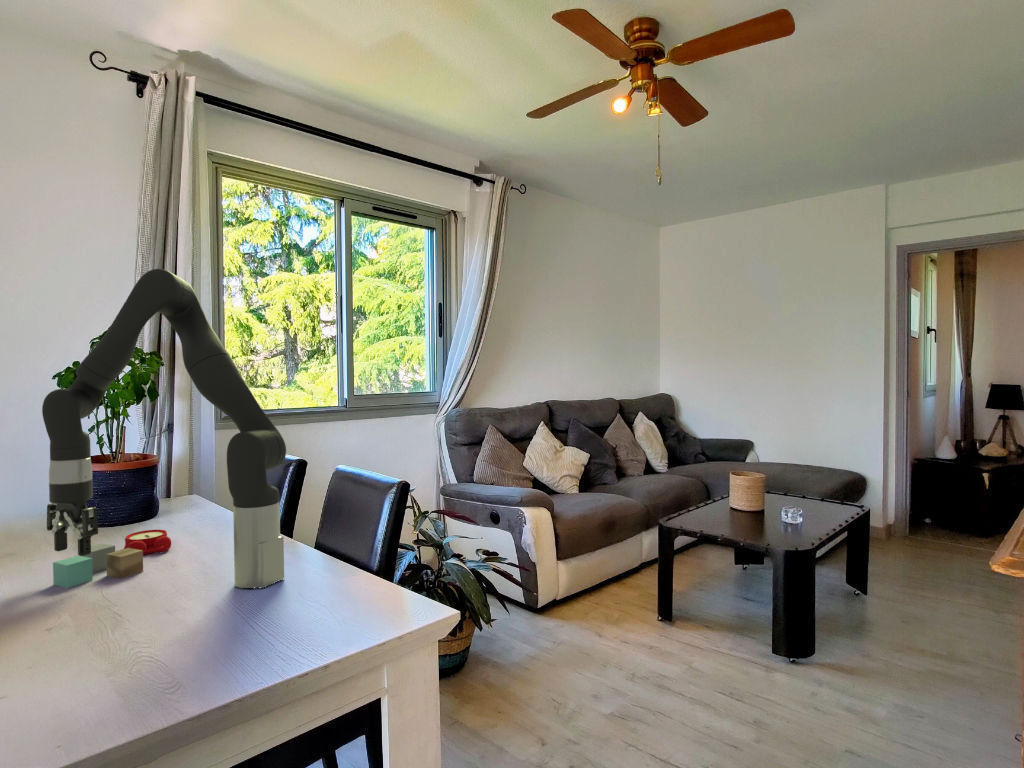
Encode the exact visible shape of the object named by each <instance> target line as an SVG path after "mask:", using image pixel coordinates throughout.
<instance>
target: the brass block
mask: <svg viewBox="0 0 1024 768" xmlns="http://www.w3.org/2000/svg"><path fill="white" fill-rule="evenodd" d="M106 562H107V569H106V576H107V577H111V578H115V579H120V580H121V579H125V578H127V576H128V577H131V576H134V575H137V574H139V572H140V573H142V571H143V572H144V555H143V550H138V549H132V548H127V549H124V548H123V549H120V550H115V552H113V553H109V554H106Z"/></svg>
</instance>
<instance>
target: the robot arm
mask: <svg viewBox="0 0 1024 768" xmlns="http://www.w3.org/2000/svg"><path fill="white" fill-rule="evenodd" d="M157 313H159V314H161V315H163V316H164V318H166V320H167V321H168V322H169V324H170V325H171V326H172V328H173V330H174V331H175V333H176V334H177V336H178V338H179V340H180V345H181V352H182V361H183V365H184V368H185V370H186V372H187V374H188V376H189V377H190V379H191V381H192V382H193V384H194V386H195V388H196V389H197V391H198V392H199V393H200V394H201V396H203V398H205V400H207V401H208V402H209V403H210V404H211V405H213V406H214V407H216V408H217V409H219V411H221V412H222V413H224V414H225V415H226V416H227V417H228V418H229V419H231V421H232V422H233V423H234V424H235V426H236V427H237V429H238V431H239V432H237V433H236V434H234V435H233V436H232V437H231V438H230V439H229V441H228V444H227V448H226V468H227V469H226V471H227V482H228V490H229V494H230V496H231V498H232V504H233V506H232V507H233V514H232V515H233V554H234V555H233V561H234V565H233V566H234V567H233V569H234V586H235V587H236V588H238V587H239V589H243V588H253V589H257V588H256V587H261V588H263V587H265V586H268V585H270V584H272V583H274V582H276V581H278V580H281V579H283V578H284V579H285V550H284V549H285V547H284V546H285V545H284V542H285V540H284V536H281V521H280V520H281V519H280V518H281V516H280V515H281V512H280V490H279V488H278V487H276V486H273V485H270V484H269V483H268V481H267V480H268V479H267V470H268V471H269V470H271V469H274V468H277V467H279V466H281V465H282V464H283V462H284V461H285V458H286V455H287V446H286V442H285V439H284V438H283V435H282V434H281V433H280V432H279V431H280V430H278V429H277V427H276V426H275V424H274V423H273V422H272V420H271V419H270V418H269V417H268V415H267V414H266V412H265V411H264V410H263V408H262V407H261V405H259V403H258V401H257V400H256V398H255V396H254V395H253V393H252V391H251V389H250V388H249V386H248V385H247V382H246V381H245V380H244V378H243V377H242V374H241V373H240V371H239V369H238V367H237V365H236V364H235V362H234V361H233V359H232V357H231V355H230V354H229V352H228V351H227V349H226V348H225V346H224V344H223V342H222V341H221V339H220V338H219V336H218V335H217V332H215V331H214V329H213V327H212V326H211V325H210V322H209V320H208V319H207V316H206V314H205V312H204V310H203V308H202V305H201V303H200V301H199V299H198V296H197V294H196V292H195V290H194V288H193V287H192V285H191V284H190V283H188V281H186V280H185V279H183V278H181V277H179V275H176V274H174V273H173V272H171V271H169V270H167V269H163V268H153V269H150V270H148V271H146V272H145V273H143V274H142V276H141V277H140V278H139V279H138V280H137V282H136V283H135V285H134V286H133V288H132V290H131V291H130V293H129V295H128V296H127V298H126V300H125V301H124V303H123V304H122V307H121V308H120V310H119V312H118V313H117V315H116V316H115V318H114V320H113V322H112V323H111V325H110V326H109V328H108V329H107V331H106V332H105V334H104V335H103V336H102V337H101V339H100V340H99V341H98V343H96V345H95V346H94V347H93V349H91V351H90V352H89V353H88V354H87V356H86V357H85V358H84V359H83V360H82V361H81V363H80V364H79V365H78V366H77V368H76V370H75V375H76V378H75V380H74V381H73V382H72V384H71V385H70V386H69V387H68V388H58V389H54V390H52V391H51V392H48V394H47V395H46V396H45V398H44V400H43V402H42V409H41V412H42V413H41V414H42V418H43V423H44V427H45V430H46V433H47V435H48V439H49V469H48V487H49V489H48V491H49V495H48V496H49V503H48V504H47V506H46V530H47V531H48V532H49V531H51V534H52V535H53V539H54V541H53V542H54V544H53V545H54V548H53V549H54V551H55V552H62V551H65V550H67V549H68V532H67V531H68V530H69V529H68V528H69V527H70V530H71V531H72V532H75V534H76V536H77V556H84V555H88V554H90V553H91V546H92V537H93V536H96V535H98V533H99V523H98V521H99V520H98V508H97V507H96V506H94V507H93V506H92V507H88V505H87V501H88V500H91V499H92V498H93V495H94V494H93V493H94V491H93V489H94V487H93V486H94V485H93V484H94V483H93V464H92V459H91V458H92V456H91V455H92V454H91V438H90V435H89V434H88V433H87V432H86V431H84V430H83V427H82V419H85V418H86V417H88V416H89V415H91V414H92V413H93V412H94V411H95V410H96V409H97V407H98V406H99V404H100V403H101V401H102V399H103V398H104V396H105V394H106V393H107V390H108V388H109V386H110V385H111V384H112V383H113V382H114V381H115V380H116V379H117V377H118V376H119V375H120V374H121V373H122V372H123V370H124V369H125V368H126V367H127V366H128V364H129V363H130V361H131V359H132V357H133V356H134V353H135V349H136V347H137V343H138V339H139V337H140V334H141V332H142V330H143V329H144V327H145V326H146V324H147V323H148V322H149V320H150V319H151V318H153V316H155V315H156V314H157ZM91 526H92V527H91ZM284 579H283V580H284ZM281 581H282V580H281ZM274 584H275V583H274ZM272 585H273V584H272ZM270 586H271V585H270ZM254 587H255V588H254ZM268 587H269V586H268ZM261 588H260V589H261ZM265 588H266V587H265ZM263 589H264V588H263Z"/></svg>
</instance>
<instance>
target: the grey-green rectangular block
mask: <svg viewBox="0 0 1024 768" xmlns="http://www.w3.org/2000/svg"><path fill="white" fill-rule="evenodd" d="M113 552H116V545H113V544H110V543H109V544H108V543H103V542H102V543H101V542H100V543H98V544H94V545H91V553H90V554H88V555H84V556H83V557H88V558H92V574H94V573H97V572H100V571H101V572H102V571H104V570H107V562H106V554H109V553H113Z"/></svg>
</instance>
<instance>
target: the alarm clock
mask: <svg viewBox="0 0 1024 768" xmlns="http://www.w3.org/2000/svg"><path fill="white" fill-rule="evenodd" d="M124 542H125V544H124V547H123V549H127V548H132V549H138V550H143V556H144V555H147V554H148V553H149V554H154V553H158V554H161V553H160V552H163V553H165V551H166V552H168V551H169V550H170V549H171V547H172V539H171V538H170V537H169V536H168V532H167V530H165V529H145V530H142V531H141V530H140V531H137V532H132V533H129V534H127V535H126V536H125V539H124Z"/></svg>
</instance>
